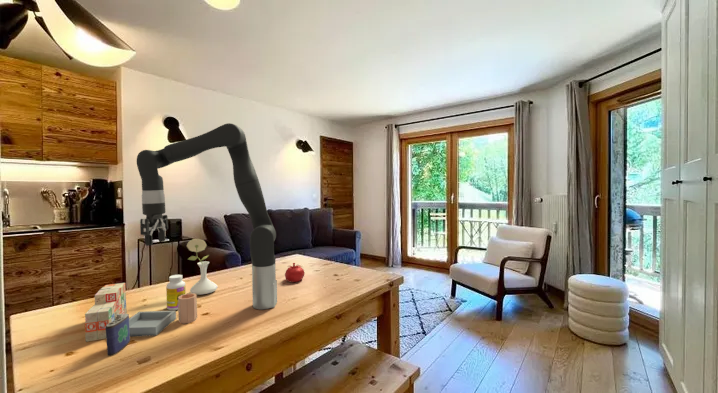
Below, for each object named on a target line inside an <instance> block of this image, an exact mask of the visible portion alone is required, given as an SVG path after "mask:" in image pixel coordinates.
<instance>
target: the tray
mask: <svg viewBox="0 0 718 393" xmlns="http://www.w3.org/2000/svg"><path fill="white" fill-rule="evenodd" d="M176 319H177V310H158V311H157V310H151V311H150V310H149V311H138V312H136V313H135V314H134V315H132V316H131V317H129V332H130V338H131V337H135V338H136V337H156V336H157V335H159V334H160V333H161V332H162V331H163V330H165V329H166V328H167V327H168V326H169V325H170V324H172V322H174V321H176Z"/></svg>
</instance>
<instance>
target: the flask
mask: <svg viewBox="0 0 718 393" xmlns="http://www.w3.org/2000/svg"><path fill="white" fill-rule="evenodd" d="M115 315H117V317H116V318H115V320H114V321H113V322H109V324H107V325H106V338H105V339H106V352H107V357H112V356H115V355H117V354H118V353H120V352H121V351H123V350H124V349H125V348H126V347H127V346H128V345H129V344H130V343H131V337H130V332H129V318H130V315H129V314H128V313H126V314H115Z"/></svg>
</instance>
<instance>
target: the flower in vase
mask: <svg viewBox="0 0 718 393" xmlns="http://www.w3.org/2000/svg"><path fill="white" fill-rule="evenodd" d="M207 246H208V245H207V243H206V241H205V240H204V239H201V238H195V239H194V238H192V239H191V240H189V241H188V242H187V244H186V248H187V249H188V251H190V252H194V253H196V255H195V256H194V255H191V256H190V257H188V258H187V260H189V261H196V260H197V259H198V260H199V262H197V266H198V267H199V268H200V269H199V271H200V279H199V280H198V281H197V282H195V284H193V286H192V287H190V290H189V292H190V293H194V294H196V295H197V296H198V295H206V294H211V293H213V292H215V291H216V290H218V284H216V283H215V282H213V280H210V279H209V278H208V277H207V269H208V266H209V264H210V261H206V259H207V258H208V257H209V256H210V254H207V255H206V256H203V257H202V258H201V259H200V257H198V253H200V252H202V251H205V250H206V248H207ZM204 260H205V261H204Z"/></svg>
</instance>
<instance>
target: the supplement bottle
mask: <svg viewBox="0 0 718 393" xmlns="http://www.w3.org/2000/svg"><path fill="white" fill-rule="evenodd" d="M168 281H169V282H168V283H167V284H166V308H167V311H178V297H179V296H181V295H184V294H187V293H186V282H185V281H183V274H172V275H170V276H169V277H168Z"/></svg>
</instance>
